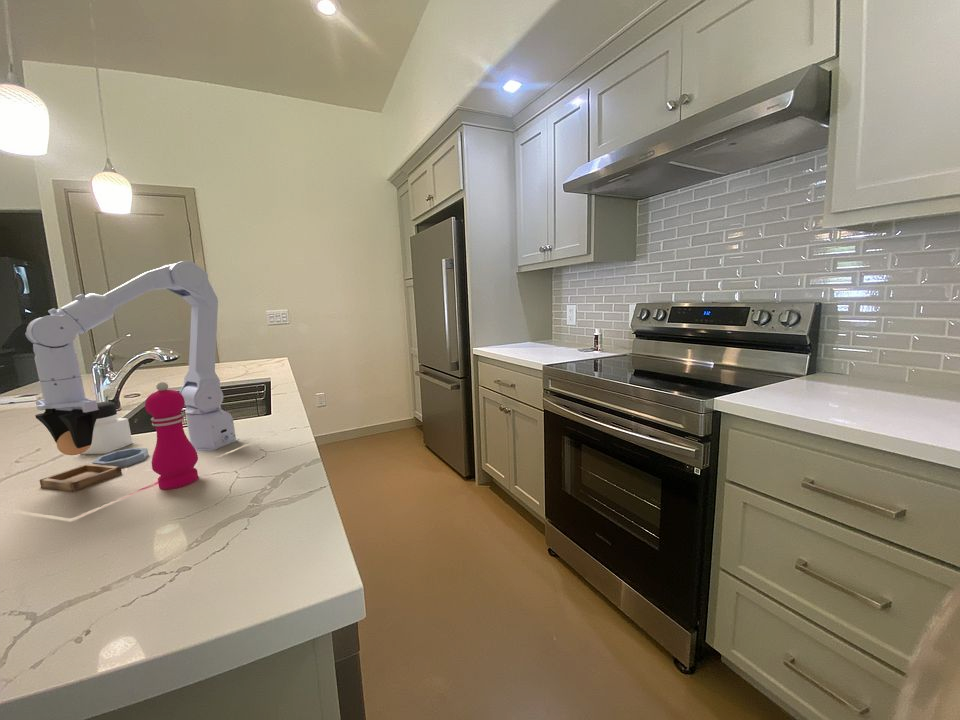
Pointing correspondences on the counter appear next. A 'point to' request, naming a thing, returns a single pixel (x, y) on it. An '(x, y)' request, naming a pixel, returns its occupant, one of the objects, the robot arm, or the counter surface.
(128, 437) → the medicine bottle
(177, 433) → the pepper mill
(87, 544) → the counter surface
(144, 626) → the counter surface
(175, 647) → the counter surface
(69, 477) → the tray
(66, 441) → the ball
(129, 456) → the ramekin
